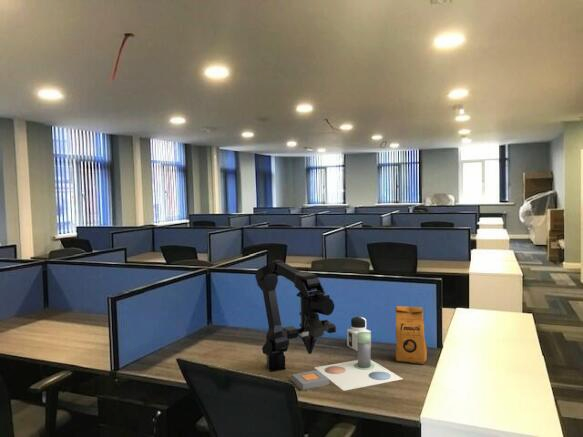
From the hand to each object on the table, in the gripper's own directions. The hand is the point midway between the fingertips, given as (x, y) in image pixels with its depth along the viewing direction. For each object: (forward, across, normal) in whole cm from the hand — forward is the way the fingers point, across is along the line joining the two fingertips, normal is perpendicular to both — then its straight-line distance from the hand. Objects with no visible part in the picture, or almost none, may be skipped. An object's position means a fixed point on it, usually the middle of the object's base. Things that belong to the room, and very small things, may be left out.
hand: (309, 353), depth 169 cm
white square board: (+11, +19, 0) cm, 22 cm away
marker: (+10, +25, +5) cm, 27 cm away
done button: (+11, 0, 0) cm, 11 cm away
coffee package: (+11, +46, +4) cm, 47 cm away
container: (+11, +36, +28) cm, 47 cm away
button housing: (+11, 0, 0) cm, 11 cm away
